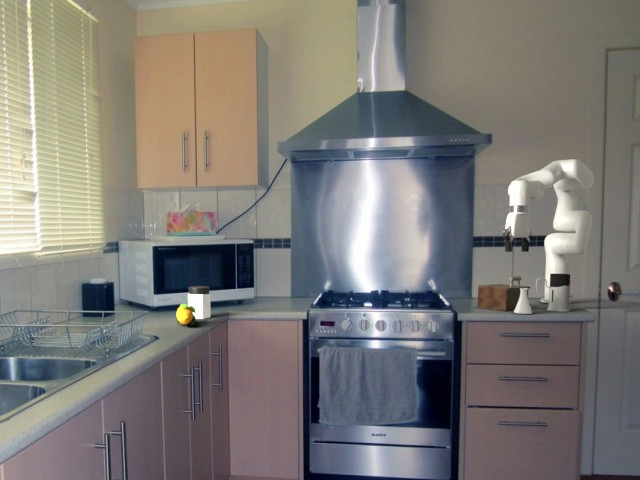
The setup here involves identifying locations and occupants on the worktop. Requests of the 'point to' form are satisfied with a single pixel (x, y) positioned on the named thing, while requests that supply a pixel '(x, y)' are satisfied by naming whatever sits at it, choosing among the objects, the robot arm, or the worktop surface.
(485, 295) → the chest
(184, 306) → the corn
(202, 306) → the jar
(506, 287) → the lid
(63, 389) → the worktop surface
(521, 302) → the flask
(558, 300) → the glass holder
